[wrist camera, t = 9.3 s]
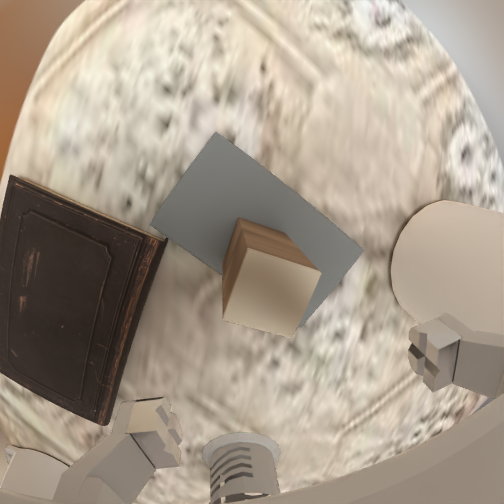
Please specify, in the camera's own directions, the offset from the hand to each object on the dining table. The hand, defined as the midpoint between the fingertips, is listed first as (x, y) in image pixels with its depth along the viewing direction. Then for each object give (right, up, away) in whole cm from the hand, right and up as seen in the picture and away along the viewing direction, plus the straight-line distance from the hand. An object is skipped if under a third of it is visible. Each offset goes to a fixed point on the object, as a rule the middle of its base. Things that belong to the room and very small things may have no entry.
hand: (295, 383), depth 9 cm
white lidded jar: (+17, +3, +19) cm, 26 cm away
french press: (-3, -22, +24) cm, 33 cm away
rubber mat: (-1, +5, +17) cm, 18 cm away
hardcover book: (-20, -2, +18) cm, 27 cm away
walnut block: (-1, +4, +17) cm, 17 cm away
